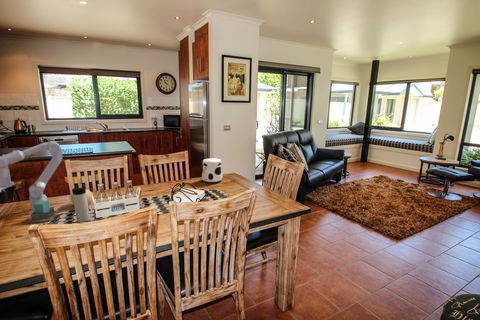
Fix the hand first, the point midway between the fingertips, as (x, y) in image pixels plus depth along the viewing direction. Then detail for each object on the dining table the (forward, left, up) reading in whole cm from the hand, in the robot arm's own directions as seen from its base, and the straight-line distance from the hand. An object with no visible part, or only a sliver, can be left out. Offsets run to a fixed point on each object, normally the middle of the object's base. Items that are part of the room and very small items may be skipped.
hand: (7, 200), depth 146 cm
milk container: (-34, +126, -10) cm, 131 cm away
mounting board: (+7, +19, -10) cm, 23 cm away
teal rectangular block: (+7, +19, -8) cm, 22 cm away
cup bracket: (+7, +19, -9) cm, 22 cm away
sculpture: (-9, +35, -10) cm, 37 cm away
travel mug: (+18, +42, -10) cm, 47 cm away
